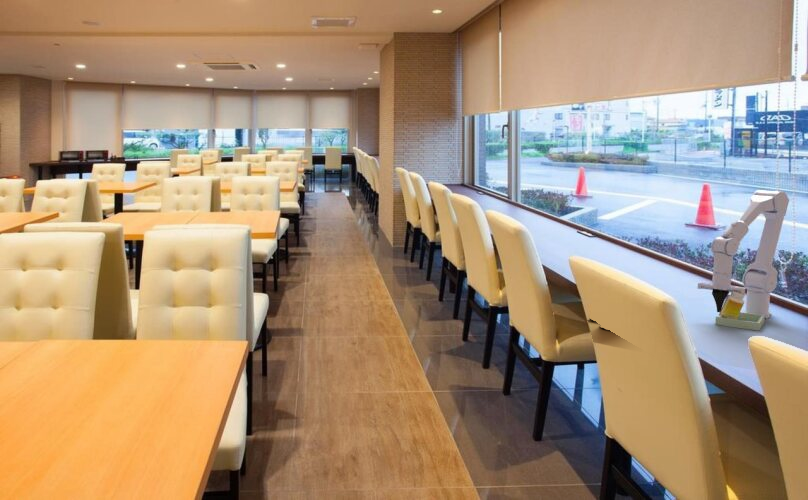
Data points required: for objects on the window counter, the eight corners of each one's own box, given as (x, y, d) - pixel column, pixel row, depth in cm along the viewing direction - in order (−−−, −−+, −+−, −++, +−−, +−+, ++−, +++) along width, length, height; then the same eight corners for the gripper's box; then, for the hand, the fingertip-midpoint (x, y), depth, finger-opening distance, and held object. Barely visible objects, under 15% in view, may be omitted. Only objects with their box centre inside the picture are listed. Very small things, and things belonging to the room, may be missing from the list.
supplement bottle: (738, 324, 220) (750, 297, 217) (722, 321, 219) (735, 293, 216) (730, 317, 225) (742, 291, 222) (715, 314, 225) (727, 287, 221)
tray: (722, 316, 229) (722, 309, 229) (764, 322, 222) (764, 315, 221) (715, 324, 219) (715, 317, 218) (758, 330, 211) (759, 323, 211)
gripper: (696, 271, 222) (693, 310, 224) (744, 276, 214) (740, 317, 216) (701, 269, 228) (698, 306, 230) (747, 273, 220) (744, 313, 222)
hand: (719, 311), depth 224 cm, fingers closed
